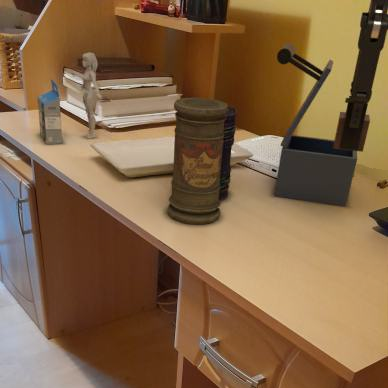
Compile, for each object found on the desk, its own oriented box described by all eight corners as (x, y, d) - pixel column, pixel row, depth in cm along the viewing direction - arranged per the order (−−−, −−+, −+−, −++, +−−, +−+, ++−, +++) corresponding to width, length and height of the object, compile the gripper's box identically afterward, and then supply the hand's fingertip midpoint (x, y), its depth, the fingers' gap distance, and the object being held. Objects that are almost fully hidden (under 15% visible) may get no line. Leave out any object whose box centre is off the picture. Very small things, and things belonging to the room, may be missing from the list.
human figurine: (77, 131, 129) (71, 48, 118) (91, 130, 130) (87, 48, 120) (94, 144, 121) (89, 56, 110) (109, 143, 122) (106, 56, 112)
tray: (254, 169, 113) (256, 152, 111) (119, 185, 99) (118, 166, 97) (214, 147, 124) (216, 132, 122) (89, 159, 111) (88, 142, 109)
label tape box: (39, 134, 124) (33, 77, 117) (56, 133, 126) (51, 77, 119) (46, 144, 118) (40, 85, 111) (64, 143, 119) (59, 85, 112)
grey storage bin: (346, 187, 107) (357, 142, 101) (345, 206, 97) (357, 159, 92) (281, 178, 109) (288, 134, 104) (274, 196, 100) (281, 149, 95)
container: (161, 207, 92) (164, 96, 81) (208, 203, 94) (216, 96, 84) (177, 227, 85) (183, 109, 74) (227, 222, 88) (239, 108, 77)
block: (362, 144, 84) (369, 114, 81) (362, 151, 80) (370, 120, 77) (334, 141, 84) (340, 111, 82) (333, 148, 81) (339, 117, 78)
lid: (333, 61, 95) (291, 34, 94) (331, 70, 86) (284, 39, 85) (290, 132, 103) (250, 108, 103) (283, 147, 94) (240, 120, 94)
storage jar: (214, 182, 104) (221, 102, 95) (238, 199, 97) (247, 114, 88) (168, 187, 100) (171, 103, 91) (190, 205, 93) (195, 116, 84)
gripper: (358, -39, 76) (326, 129, 90) (359, -43, 62) (321, 156, 76) (412, -36, 75) (371, 134, 88) (425, -39, 61) (374, 163, 74)
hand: (348, 144), depth 82 cm, fingers closed on block, 4 cm apart
